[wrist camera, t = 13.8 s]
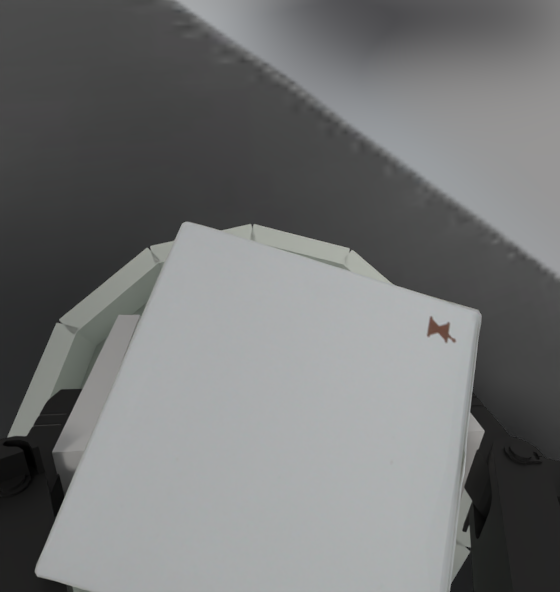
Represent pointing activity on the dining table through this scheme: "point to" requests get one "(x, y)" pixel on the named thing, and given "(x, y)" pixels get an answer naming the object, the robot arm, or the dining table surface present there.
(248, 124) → the dining table surface
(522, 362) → the dining table surface
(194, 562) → the supplement box
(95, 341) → the bowl
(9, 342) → the dining table surface
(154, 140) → the dining table surface
